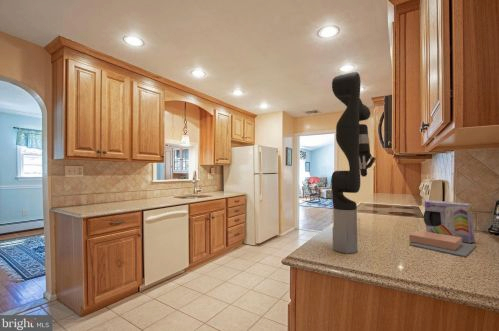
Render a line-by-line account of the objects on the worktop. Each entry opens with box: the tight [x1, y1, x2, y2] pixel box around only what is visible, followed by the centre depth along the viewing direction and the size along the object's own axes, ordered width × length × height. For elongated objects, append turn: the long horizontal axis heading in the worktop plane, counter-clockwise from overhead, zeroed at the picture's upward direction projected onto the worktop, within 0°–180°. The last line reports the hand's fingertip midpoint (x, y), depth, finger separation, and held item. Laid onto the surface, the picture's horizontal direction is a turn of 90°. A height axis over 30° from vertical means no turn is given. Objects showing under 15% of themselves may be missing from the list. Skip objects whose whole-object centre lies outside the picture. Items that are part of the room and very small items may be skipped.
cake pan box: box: [423, 200, 476, 244], centre depth 115 cm, size 19×5×18 cm, turn 23°
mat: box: [409, 242, 477, 258], centre depth 102 cm, size 20×18×1 cm
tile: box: [408, 230, 463, 251], centre depth 104 cm, size 12×3×16 cm
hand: (364, 176), depth 123 cm, fingers closed
